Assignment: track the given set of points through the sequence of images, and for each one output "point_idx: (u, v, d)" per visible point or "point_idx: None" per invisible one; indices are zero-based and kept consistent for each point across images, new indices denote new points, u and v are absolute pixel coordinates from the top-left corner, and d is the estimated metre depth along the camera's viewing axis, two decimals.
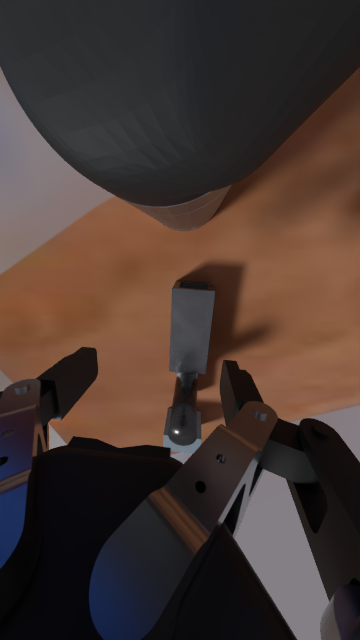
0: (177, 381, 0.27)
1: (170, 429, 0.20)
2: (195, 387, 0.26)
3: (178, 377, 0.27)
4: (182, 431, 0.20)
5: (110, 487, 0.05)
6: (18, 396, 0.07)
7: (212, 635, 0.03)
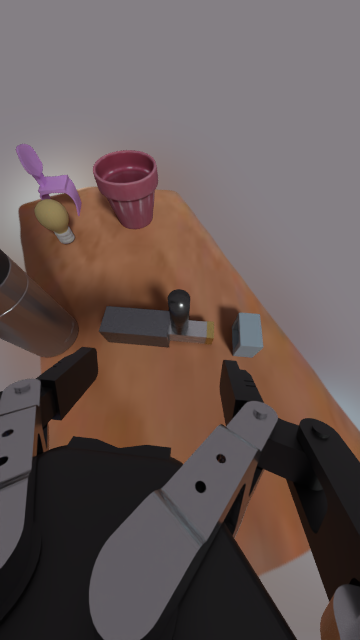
0: (174, 329, 0.32)
1: (173, 306, 0.26)
2: None
3: (174, 331, 0.33)
4: (174, 298, 0.26)
5: (110, 487, 0.05)
6: (18, 396, 0.07)
7: (212, 635, 0.03)
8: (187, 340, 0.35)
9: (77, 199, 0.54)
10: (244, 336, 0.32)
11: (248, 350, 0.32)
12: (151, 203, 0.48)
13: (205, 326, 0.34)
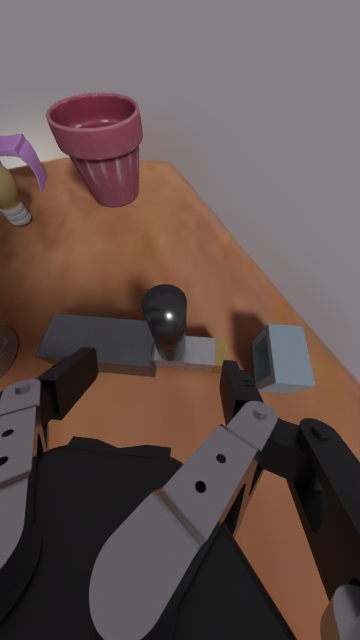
0: (160, 353, 0.19)
1: (151, 318, 0.12)
2: None
3: (161, 355, 0.20)
4: (155, 302, 0.13)
5: (110, 487, 0.05)
6: (18, 396, 0.07)
7: (212, 635, 0.03)
8: (183, 367, 0.22)
9: (38, 169, 0.41)
10: (280, 365, 0.18)
11: (285, 387, 0.19)
12: (134, 169, 0.35)
13: (212, 346, 0.21)
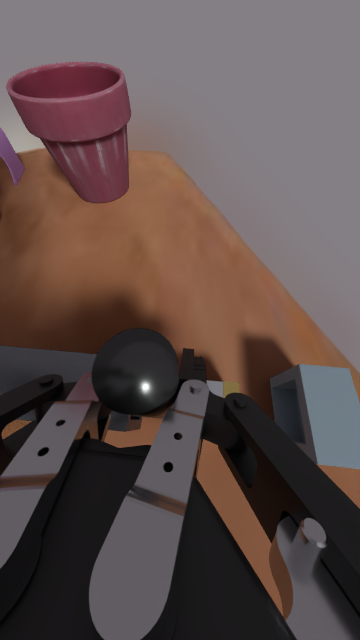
0: None
1: (107, 404, 0.06)
2: None
3: None
4: (118, 366, 0.07)
5: (110, 487, 0.05)
6: None
7: (212, 635, 0.03)
8: None
9: (12, 158, 0.35)
10: (323, 434, 0.12)
11: None
12: (122, 156, 0.29)
13: (220, 394, 0.15)
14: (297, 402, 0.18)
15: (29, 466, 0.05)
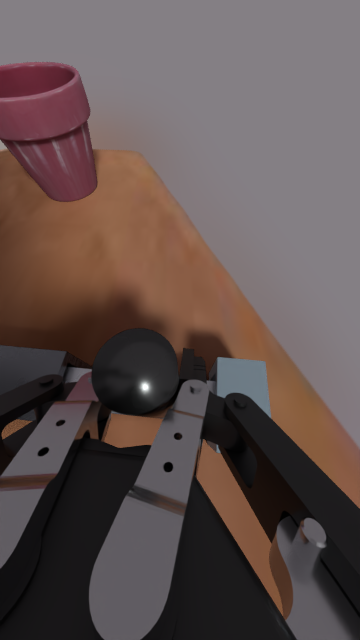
0: None
1: (107, 404, 0.06)
2: None
3: None
4: (117, 366, 0.07)
5: (110, 487, 0.05)
6: None
7: (212, 635, 0.03)
8: None
9: None
10: None
11: None
12: (83, 155, 0.29)
13: None
14: None
15: (29, 466, 0.05)
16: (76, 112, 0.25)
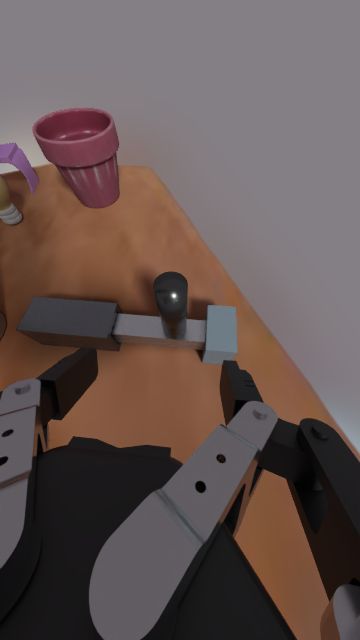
0: (166, 331, 0.23)
1: (161, 296, 0.16)
2: None
3: (166, 333, 0.24)
4: (163, 284, 0.17)
5: (110, 487, 0.05)
6: (18, 396, 0.07)
7: (212, 635, 0.03)
8: (185, 346, 0.26)
9: (30, 174, 0.45)
10: (212, 337, 0.23)
11: (219, 356, 0.24)
12: (112, 174, 0.39)
13: None
14: None
15: None
16: (111, 146, 0.35)
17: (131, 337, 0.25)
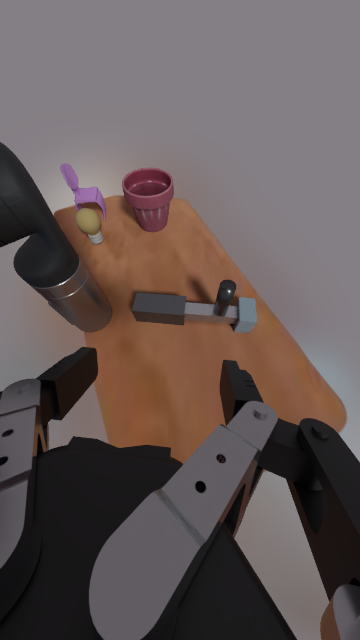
0: (217, 311, 0.42)
1: (224, 291, 0.35)
2: None
3: (216, 313, 0.43)
4: (224, 285, 0.36)
5: (110, 487, 0.05)
6: (18, 396, 0.07)
7: (212, 634, 0.03)
8: (225, 321, 0.45)
9: (104, 206, 0.64)
10: (243, 314, 0.42)
11: (246, 325, 0.43)
12: (167, 211, 0.58)
13: None
14: None
15: None
16: (171, 195, 0.54)
17: (194, 315, 0.44)
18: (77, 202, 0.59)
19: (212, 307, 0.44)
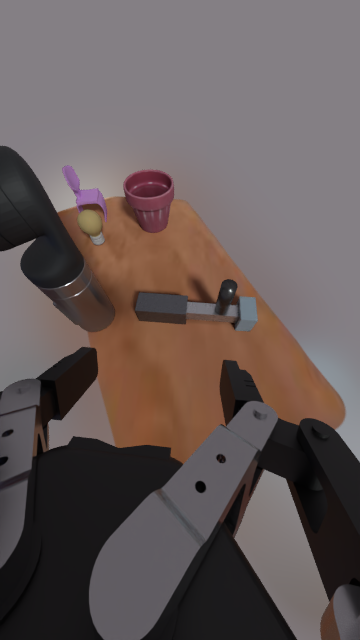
0: (218, 310, 0.43)
1: (226, 290, 0.36)
2: None
3: (218, 312, 0.43)
4: (226, 285, 0.37)
5: (110, 487, 0.05)
6: (18, 396, 0.07)
7: (212, 635, 0.03)
8: (226, 320, 0.46)
9: (105, 208, 0.65)
10: (243, 313, 0.43)
11: (246, 324, 0.43)
12: (168, 212, 0.59)
13: None
14: None
15: None
16: (171, 197, 0.55)
17: (196, 315, 0.45)
18: (79, 204, 0.60)
19: (213, 306, 0.45)
